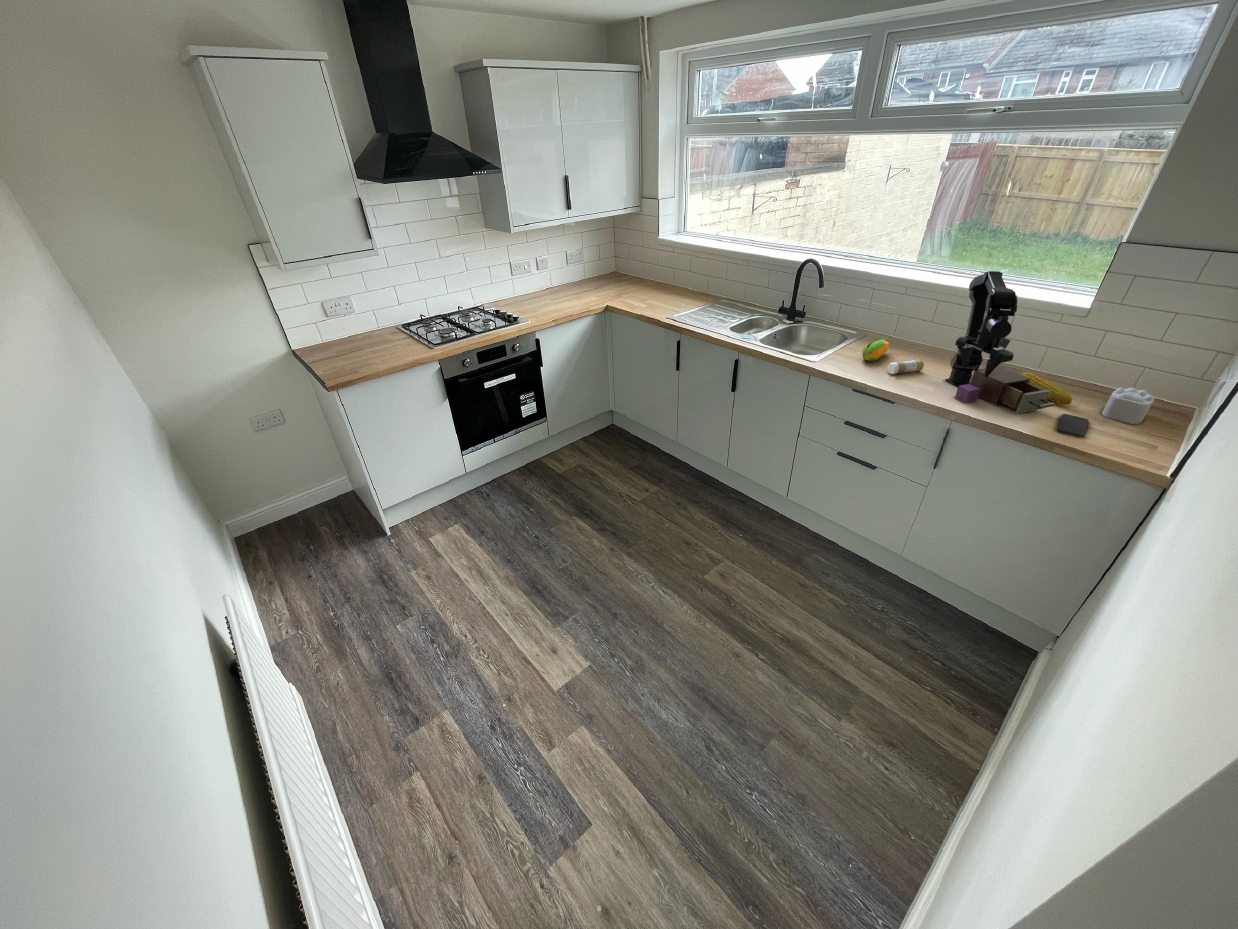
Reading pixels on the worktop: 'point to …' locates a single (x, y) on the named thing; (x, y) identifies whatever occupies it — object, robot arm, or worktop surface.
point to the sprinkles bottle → (905, 366)
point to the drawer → (1025, 397)
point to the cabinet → (995, 382)
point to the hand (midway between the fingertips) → (975, 371)
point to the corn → (875, 350)
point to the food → (1055, 393)
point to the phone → (1073, 425)
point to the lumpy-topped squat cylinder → (1128, 405)
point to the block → (967, 393)
